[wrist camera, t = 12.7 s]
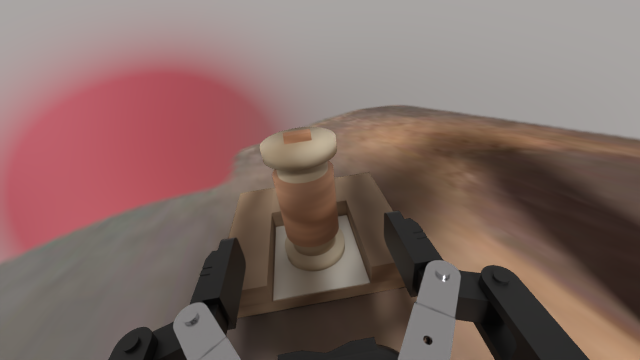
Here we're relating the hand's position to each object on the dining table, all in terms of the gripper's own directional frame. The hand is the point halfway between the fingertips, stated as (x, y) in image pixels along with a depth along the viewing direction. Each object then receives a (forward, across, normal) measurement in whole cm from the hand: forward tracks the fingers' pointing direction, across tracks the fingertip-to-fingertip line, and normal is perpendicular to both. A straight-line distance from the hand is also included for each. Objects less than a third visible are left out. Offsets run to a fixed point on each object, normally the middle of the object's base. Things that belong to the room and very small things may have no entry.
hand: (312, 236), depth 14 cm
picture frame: (+10, 0, +10) cm, 13 cm away
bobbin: (+7, 0, +8) cm, 11 cm away
